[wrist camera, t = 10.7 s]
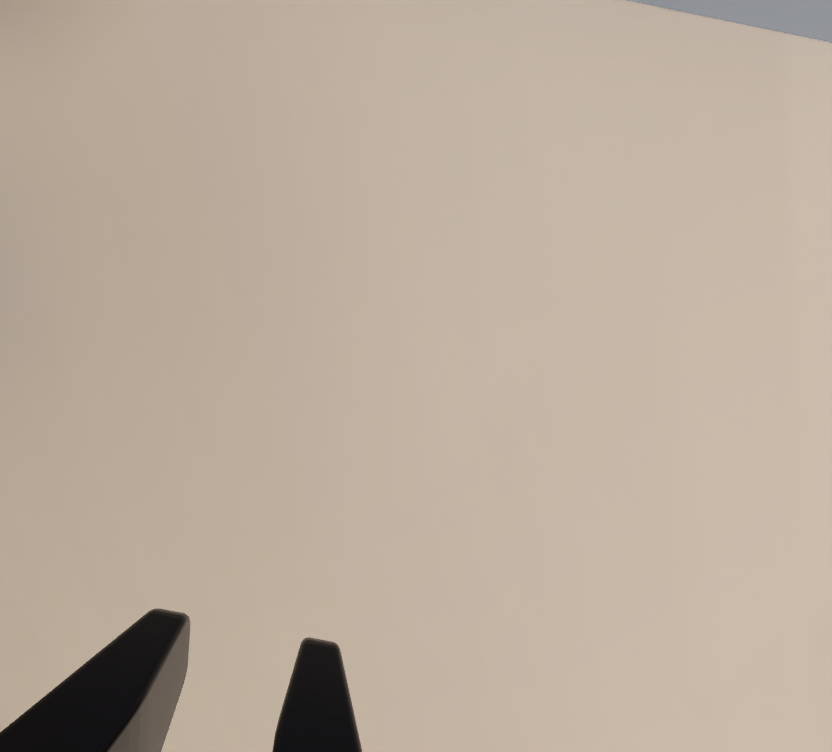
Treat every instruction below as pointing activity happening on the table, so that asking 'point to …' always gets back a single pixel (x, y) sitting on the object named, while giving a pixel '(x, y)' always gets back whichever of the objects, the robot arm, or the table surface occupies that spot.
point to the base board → (763, 14)
